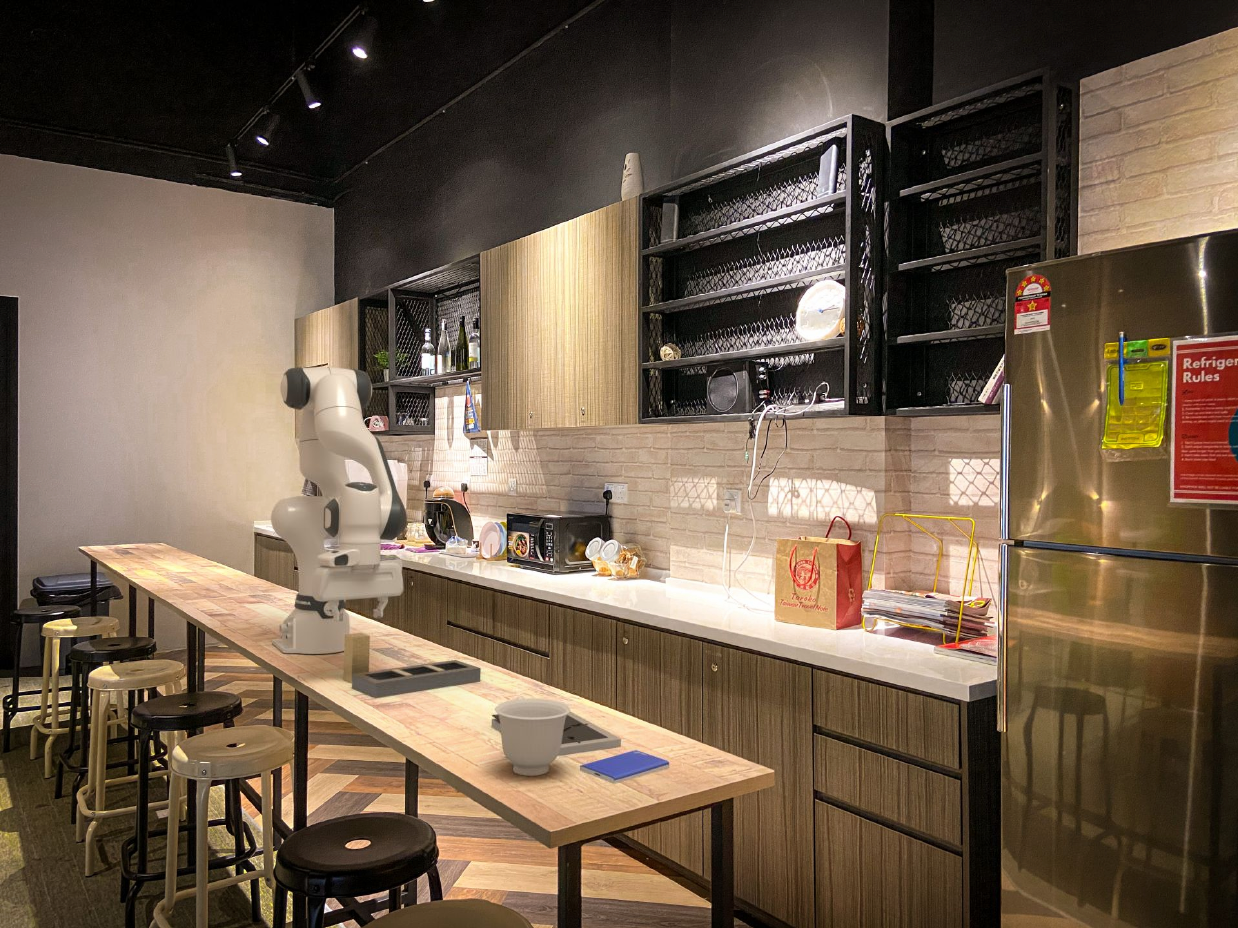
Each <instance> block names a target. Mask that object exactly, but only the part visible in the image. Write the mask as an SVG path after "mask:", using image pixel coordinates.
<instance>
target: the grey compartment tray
mask: <svg viewBox="0 0 1238 928" xmlns="http://www.w3.org/2000/svg"><path fill="white" fill-rule="evenodd" d="M481 672H482V668H481V667H479V666H477V665H472V664H470V663H467V662H463V661H460V660H458V659H457V660H456V659H451V660H445V661H437V662H431V663H424V664H414V665H408V666H400V667H393V668H386V669H385V668H384V669H378V670H372V671H370V670H369V672H363V673H355V674H352V684H351V689H354V690H356V691H358V692H360V693H362V694H365V695H368V696H370V697H372V698H375V699H377V698H383V697H389V696H396V695H402V694H408V693H410V694H411V693H415V692H422V691H423V692H424V691H427V690H428V691H429V690H434V689H441V688H447V687H453V686H460V685H466V684H472V683H473V684H474V683H478V682H481V675H482V674H481Z"/></svg>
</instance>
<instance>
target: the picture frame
mask: <svg viewBox="0 0 1238 928" xmlns="http://www.w3.org/2000/svg"><path fill="white" fill-rule="evenodd" d="M491 717H492V718H491V728H493V729H494V730H496V731H497V732H499V733H500V734H501V726H500V719H499V715H498V713H497V714H491ZM617 748H622V738H620V737H618V736H616V735H615V734H613V733H611V732H610V731H608V730H607V729H604V728H602V727H600V726H598V725H596V724H594V722H593V723H592V722H591V721H589V720H587V719H585V718H584V717H582V716H579V715H578V714H575V713H574V712H572V711H570V712H569V713H568V714H567V716H566V719H565V723H564V729H563V736H562V743H561V748H560V752H559V754H558V756H557V757H559V756H566V755H567V756H568V755H574V754H580V753H589V752H595V751H601V750H608V749H617Z"/></svg>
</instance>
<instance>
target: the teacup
mask: <svg viewBox="0 0 1238 928" xmlns="http://www.w3.org/2000/svg"><path fill="white" fill-rule="evenodd" d="M494 711H495V713H497V714H498V715H499V719H500V726H501V733H500V735H501V745H502V746H501V747H502V752H503V755H504V757H505V758H506V759H507V761H509V762H510V763H511V764H513V768H512V771H513V773H515V774H518V775H521V776H525V777H526V776H527V777H533V776H535V777H536V776H543V775H545V774H547V773H548V772H549V770H550V767H549V765H550V764H551V763H553V762H554V761H555V760H556V759H557V758H558V757H559V756H558V754H559V752H560V748H561V743H562V736H563V729H564V723H565V719H566V716H567V714H568V713H569V712H571V708H570V707H569V705H568V704H566V703H564V702H561V701H558V700H553V699H545V698H525V697H523V696H522V697H521V696H520V697H517V698H516V699H511V700H507V701H503V702H501V703H499V704H498V705H496V706H495V709H494Z"/></svg>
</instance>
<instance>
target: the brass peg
mask: <svg viewBox="0 0 1238 928" xmlns="http://www.w3.org/2000/svg"><path fill="white" fill-rule="evenodd" d="M370 642H371V635H369V634H366V633H363V632H358V633H350V634H347V635H345V640H344V651H343V677H342V679H343V681H345V682H347V683H349V684H351V685H352V674H355V673H363V672H370V647H371V645H370V644H371V643H370Z"/></svg>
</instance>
